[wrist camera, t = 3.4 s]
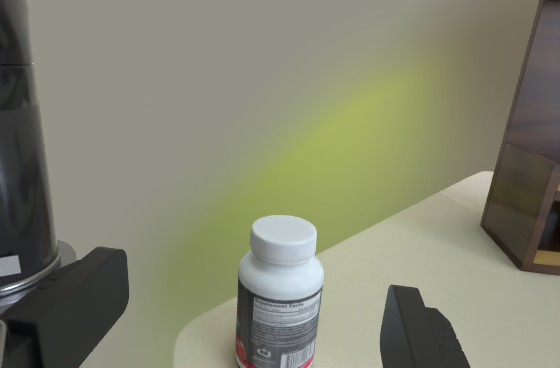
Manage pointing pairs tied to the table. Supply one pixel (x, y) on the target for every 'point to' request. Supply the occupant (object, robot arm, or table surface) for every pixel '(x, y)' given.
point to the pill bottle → (279, 295)
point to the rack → (531, 156)
